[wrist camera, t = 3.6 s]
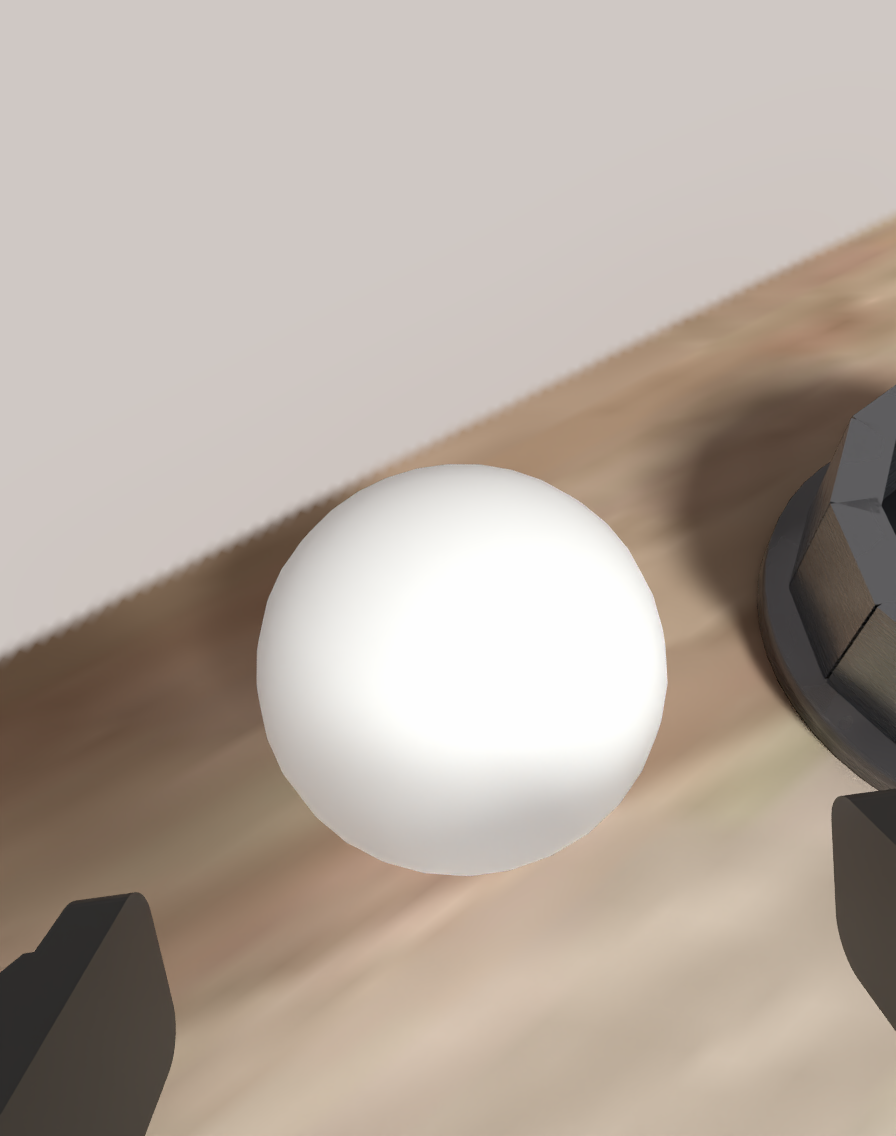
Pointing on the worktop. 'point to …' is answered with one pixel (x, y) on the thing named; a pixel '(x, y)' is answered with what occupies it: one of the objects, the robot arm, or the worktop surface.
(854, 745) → the socket holder
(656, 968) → the worktop surface
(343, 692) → the lightbulb
